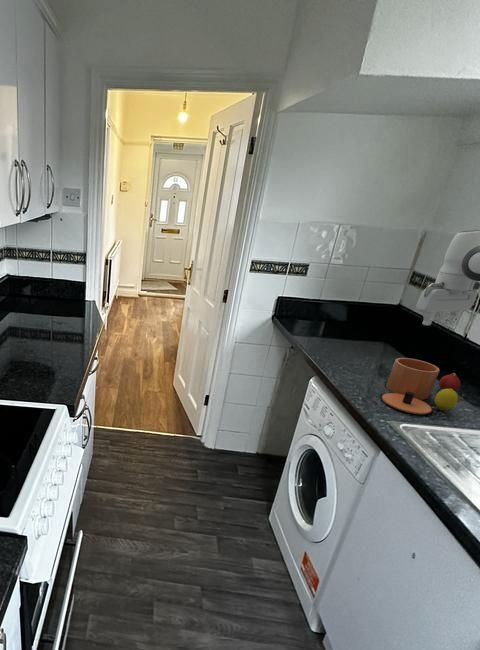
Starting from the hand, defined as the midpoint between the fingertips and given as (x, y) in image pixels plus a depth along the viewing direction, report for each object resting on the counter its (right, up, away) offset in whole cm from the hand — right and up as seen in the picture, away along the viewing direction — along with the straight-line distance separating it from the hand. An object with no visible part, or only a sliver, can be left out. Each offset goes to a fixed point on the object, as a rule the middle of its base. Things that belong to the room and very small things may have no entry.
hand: (436, 324), depth 137 cm
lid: (-10, -27, +1) cm, 28 cm away
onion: (+13, -24, +12) cm, 30 cm away
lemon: (+1, -29, 0) cm, 29 cm away
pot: (-1, -23, +12) cm, 26 cm away
